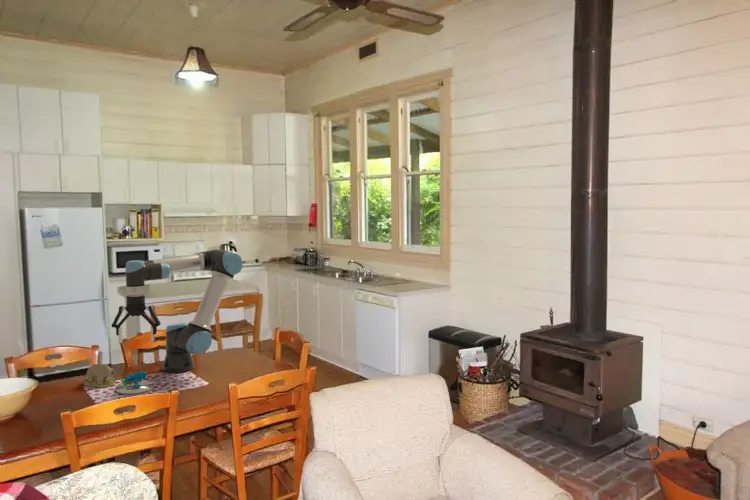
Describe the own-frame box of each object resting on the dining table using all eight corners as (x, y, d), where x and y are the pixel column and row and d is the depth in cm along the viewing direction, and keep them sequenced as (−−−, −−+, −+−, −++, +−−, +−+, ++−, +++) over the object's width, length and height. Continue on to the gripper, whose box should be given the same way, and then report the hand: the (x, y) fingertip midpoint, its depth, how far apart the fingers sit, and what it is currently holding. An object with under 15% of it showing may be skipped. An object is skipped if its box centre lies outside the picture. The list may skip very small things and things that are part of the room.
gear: (145, 378, 257) (147, 367, 250) (149, 389, 254) (150, 378, 247) (120, 385, 251) (120, 374, 244) (123, 396, 248) (124, 386, 241)
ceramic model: (120, 380, 262) (120, 360, 261) (108, 388, 251) (107, 366, 250) (91, 379, 263) (91, 358, 262) (77, 387, 251) (77, 365, 251)
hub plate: (120, 383, 257) (120, 381, 257) (157, 382, 260) (157, 379, 260) (111, 395, 242) (111, 392, 241) (150, 393, 244) (150, 391, 244)
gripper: (103, 297, 242) (104, 345, 244) (163, 296, 247) (164, 343, 249) (108, 294, 250) (109, 340, 251) (166, 293, 254) (167, 338, 256)
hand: (136, 342), depth 250 cm, fingers open, 13 cm apart
